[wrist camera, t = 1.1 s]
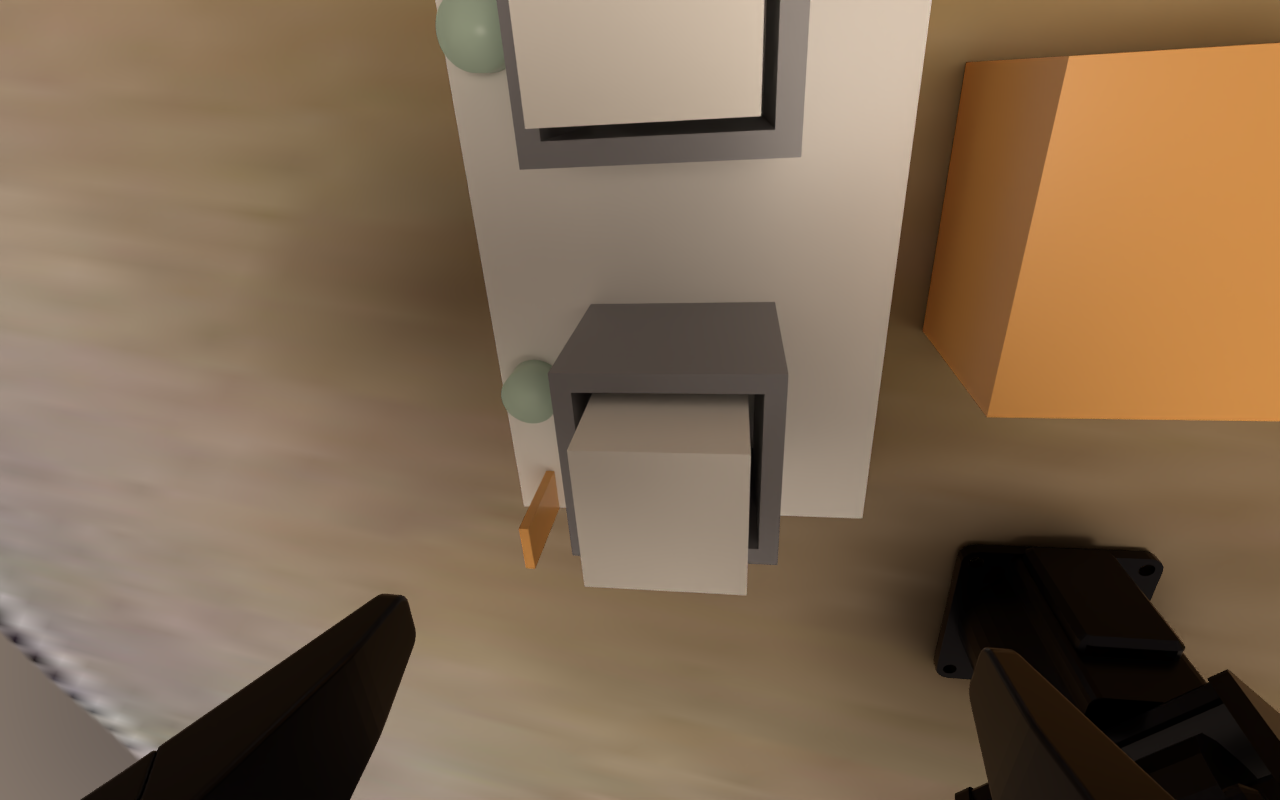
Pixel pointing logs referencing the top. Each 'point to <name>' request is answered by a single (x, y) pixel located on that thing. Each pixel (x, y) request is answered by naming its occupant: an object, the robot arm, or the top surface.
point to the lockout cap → (1115, 236)
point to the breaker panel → (700, 252)
